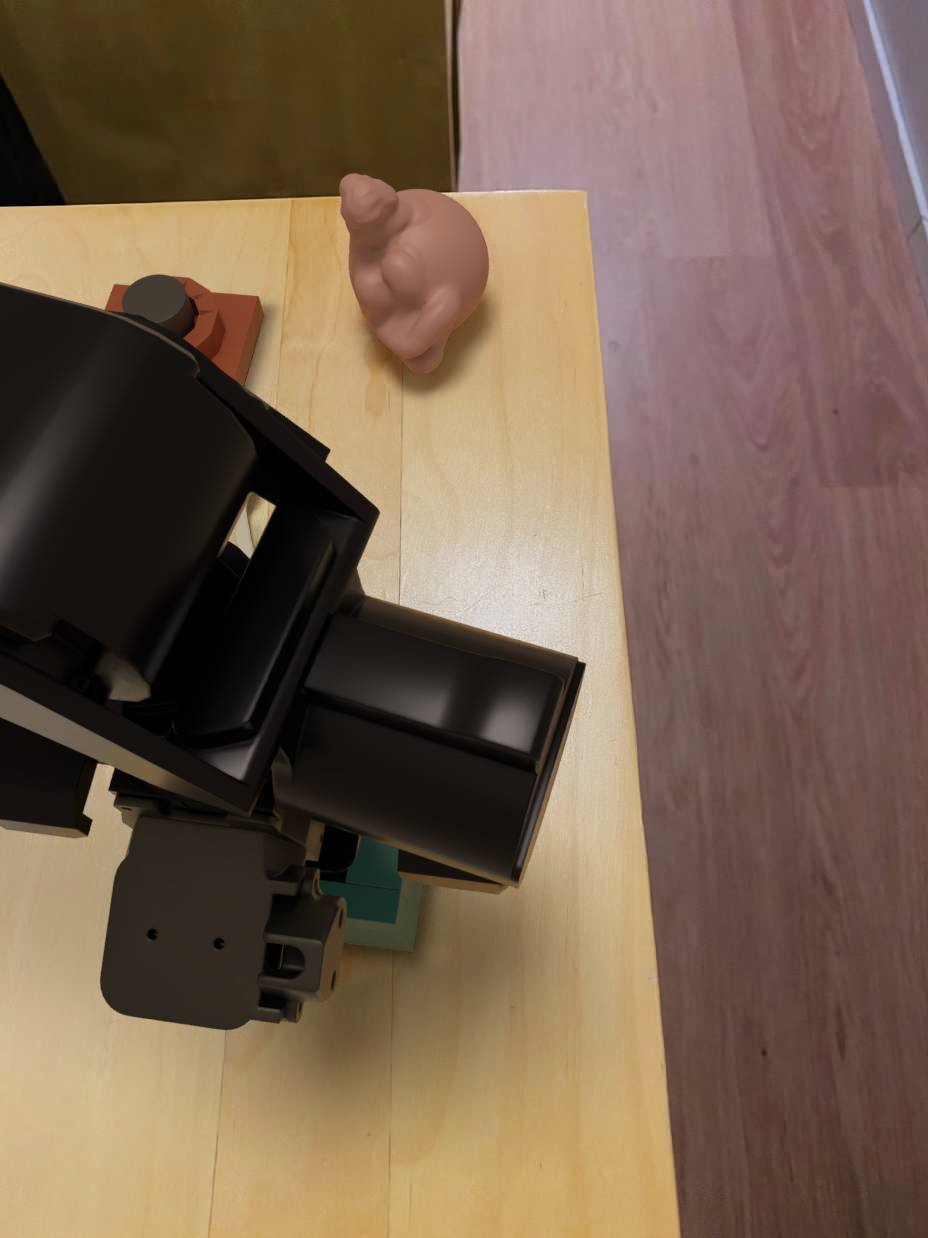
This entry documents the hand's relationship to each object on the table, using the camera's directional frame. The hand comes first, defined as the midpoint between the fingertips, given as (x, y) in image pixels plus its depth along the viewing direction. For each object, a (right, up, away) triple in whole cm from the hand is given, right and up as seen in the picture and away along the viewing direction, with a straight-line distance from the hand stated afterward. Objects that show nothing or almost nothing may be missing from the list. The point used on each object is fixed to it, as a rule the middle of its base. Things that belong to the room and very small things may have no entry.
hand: (303, 824), depth 42 cm
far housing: (-12, +26, +24) cm, 38 cm away
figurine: (+4, +28, +24) cm, 37 cm away
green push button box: (0, -4, +9) cm, 10 cm away
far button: (-12, +28, +21) cm, 37 cm away
